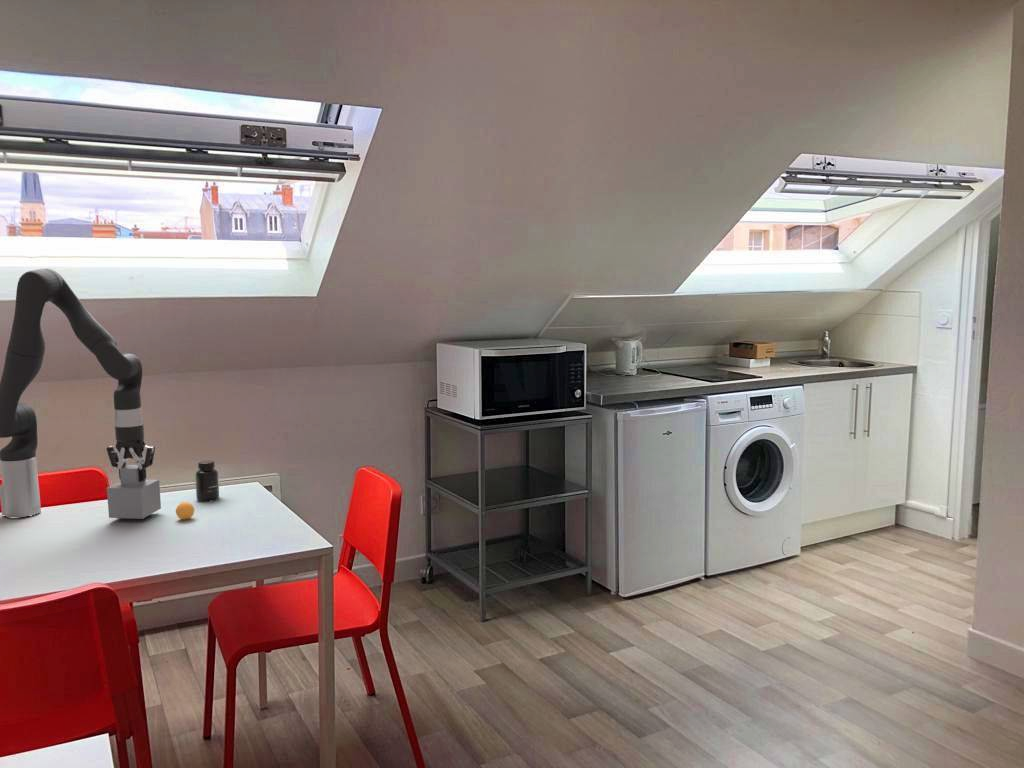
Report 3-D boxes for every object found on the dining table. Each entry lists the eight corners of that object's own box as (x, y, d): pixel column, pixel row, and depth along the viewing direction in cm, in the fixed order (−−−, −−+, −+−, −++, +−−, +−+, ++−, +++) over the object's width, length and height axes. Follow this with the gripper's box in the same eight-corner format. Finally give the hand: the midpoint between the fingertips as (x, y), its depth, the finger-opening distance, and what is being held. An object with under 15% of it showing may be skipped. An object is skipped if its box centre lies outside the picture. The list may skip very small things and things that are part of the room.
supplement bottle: (214, 502, 262) (212, 464, 261) (193, 502, 262) (190, 464, 261) (222, 496, 269) (220, 459, 267) (201, 496, 269) (199, 459, 268)
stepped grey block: (109, 517, 242) (105, 471, 240) (128, 507, 252) (125, 462, 250) (142, 518, 241) (139, 471, 239) (161, 508, 251) (157, 463, 249)
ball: (180, 525, 242) (169, 511, 242) (188, 519, 247) (177, 506, 247) (192, 515, 241) (181, 501, 241) (200, 510, 246) (190, 496, 246)
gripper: (97, 425, 239) (102, 484, 242) (145, 426, 238) (149, 484, 240) (112, 421, 247) (117, 477, 249) (159, 421, 245) (163, 478, 248)
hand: (133, 480), depth 245 cm, fingers closed on stepped grey block, 4 cm apart
